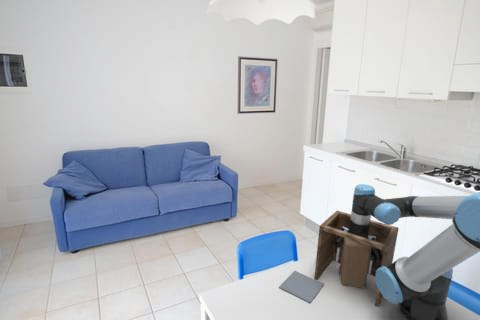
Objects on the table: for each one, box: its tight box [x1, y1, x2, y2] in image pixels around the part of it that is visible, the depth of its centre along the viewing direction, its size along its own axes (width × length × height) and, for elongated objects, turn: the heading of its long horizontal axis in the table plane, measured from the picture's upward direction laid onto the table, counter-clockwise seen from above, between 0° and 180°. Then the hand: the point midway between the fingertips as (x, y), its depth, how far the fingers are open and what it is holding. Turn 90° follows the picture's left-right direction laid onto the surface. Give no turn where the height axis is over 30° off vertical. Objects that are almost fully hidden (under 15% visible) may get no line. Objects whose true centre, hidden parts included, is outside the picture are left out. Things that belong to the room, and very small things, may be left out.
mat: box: [278, 270, 325, 304], centre depth 122 cm, size 14×14×1 cm
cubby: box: [313, 210, 400, 308], centre depth 123 cm, size 26×20×26 cm
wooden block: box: [338, 237, 372, 289], centre depth 124 cm, size 10×10×20 cm
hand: (353, 266), depth 125 cm, fingers open, 13 cm apart
